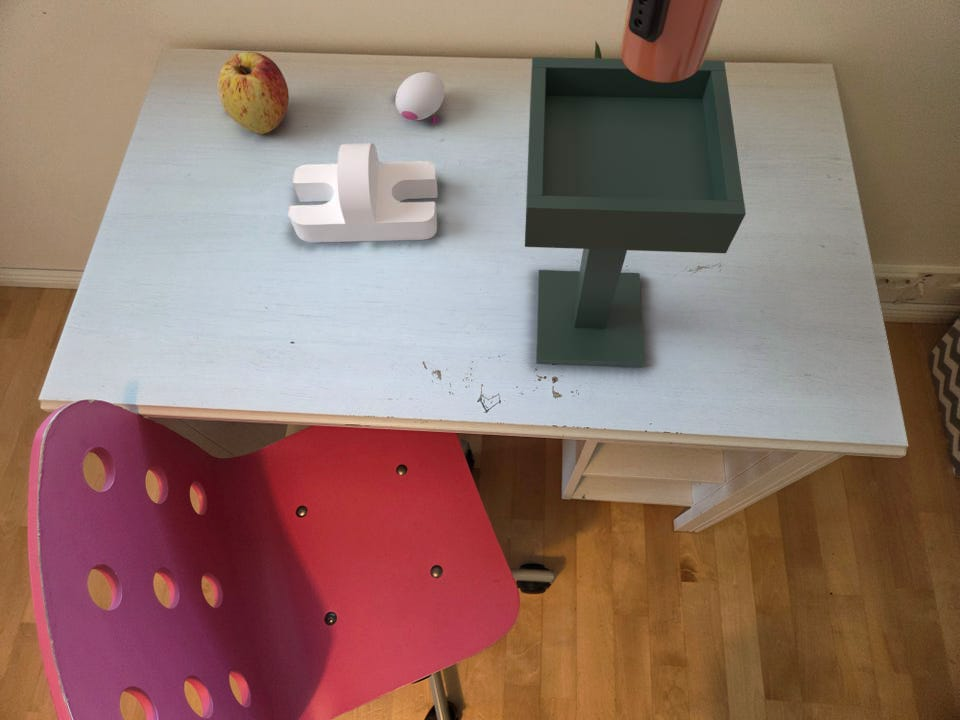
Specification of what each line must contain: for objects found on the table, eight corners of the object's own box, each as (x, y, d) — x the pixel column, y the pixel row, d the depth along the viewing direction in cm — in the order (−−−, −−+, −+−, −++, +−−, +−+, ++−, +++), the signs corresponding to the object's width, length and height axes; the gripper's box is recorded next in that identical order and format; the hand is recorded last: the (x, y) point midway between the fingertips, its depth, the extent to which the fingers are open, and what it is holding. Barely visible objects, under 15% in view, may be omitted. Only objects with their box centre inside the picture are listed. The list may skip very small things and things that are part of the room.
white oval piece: (431, 109, 101) (409, 66, 98) (464, 105, 95) (442, 59, 92) (395, 138, 99) (371, 95, 95) (427, 135, 93) (402, 89, 89)
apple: (307, 131, 96) (287, 72, 87) (246, 155, 94) (219, 98, 85) (283, 90, 100) (262, 29, 91) (224, 113, 98) (196, 53, 89)
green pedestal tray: (653, 265, 84) (724, 60, 57) (661, 384, 77) (746, 213, 50) (522, 260, 85) (532, 56, 58) (517, 378, 78) (526, 207, 51)
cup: (682, 17, 52) (711, -94, 44) (718, 71, 49) (755, -38, 42) (607, 36, 51) (624, -74, 44) (639, 91, 48) (663, -16, 41)
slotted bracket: (294, 243, 87) (271, 191, 79) (302, 183, 92) (281, 128, 83) (436, 239, 87) (429, 186, 78) (437, 179, 91) (431, 123, 82)
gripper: (737, -232, 28) (655, 94, 43) (908, -353, 33) (780, -20, 48) (592, -286, 31) (562, 40, 46) (770, -392, 35) (689, -64, 50)
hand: (673, 8), depth 47 cm, fingers closed on cup, 6 cm apart
